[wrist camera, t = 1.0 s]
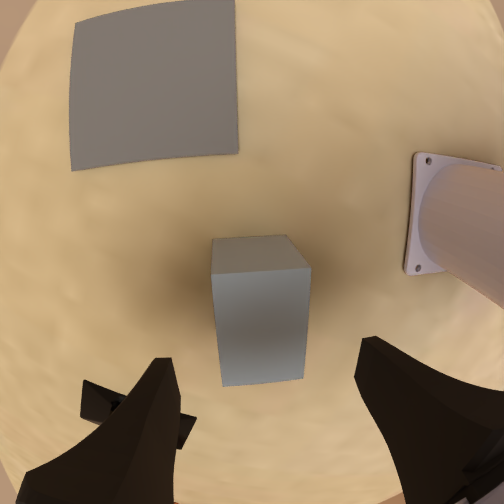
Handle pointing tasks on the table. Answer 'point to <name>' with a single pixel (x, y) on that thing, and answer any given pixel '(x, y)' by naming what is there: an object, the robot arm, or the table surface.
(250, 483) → the table surface
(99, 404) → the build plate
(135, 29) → the mat
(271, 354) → the brick
